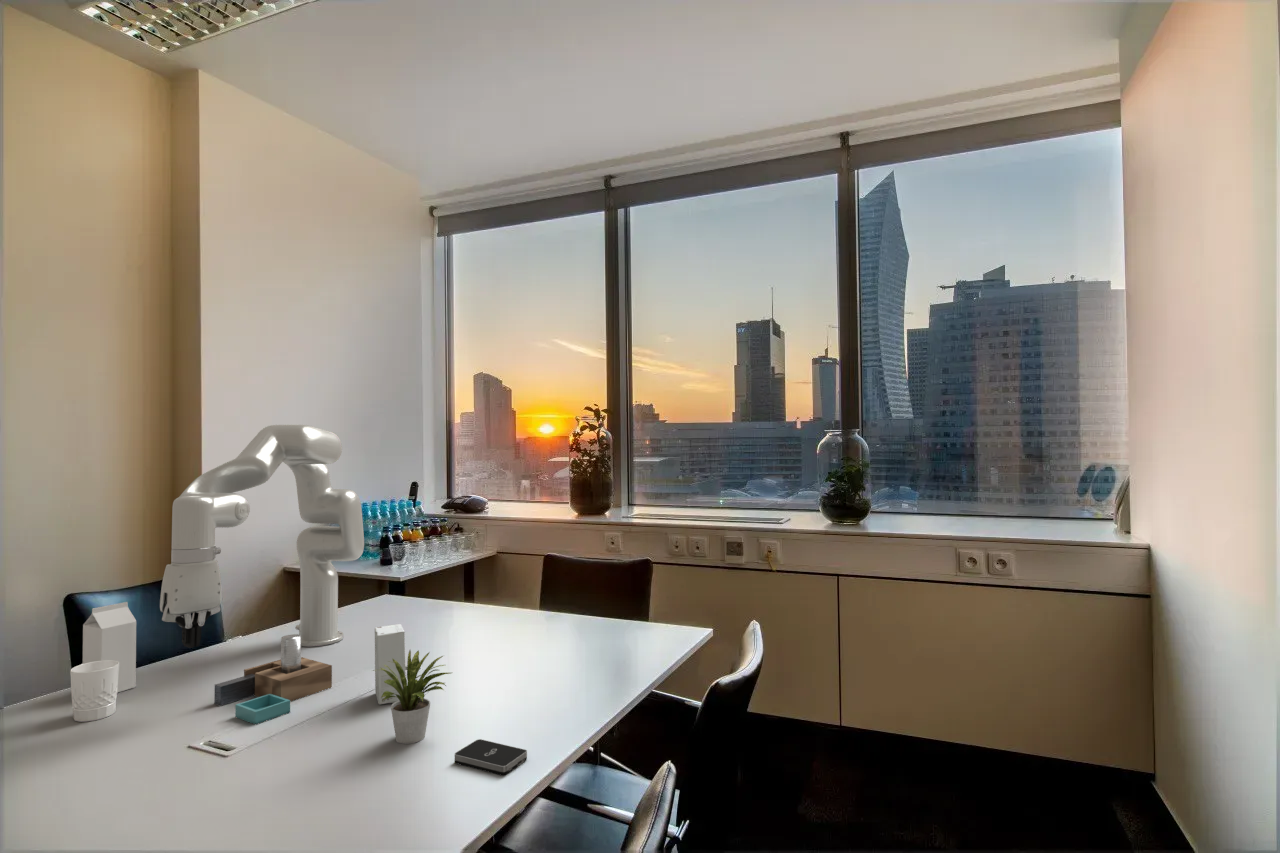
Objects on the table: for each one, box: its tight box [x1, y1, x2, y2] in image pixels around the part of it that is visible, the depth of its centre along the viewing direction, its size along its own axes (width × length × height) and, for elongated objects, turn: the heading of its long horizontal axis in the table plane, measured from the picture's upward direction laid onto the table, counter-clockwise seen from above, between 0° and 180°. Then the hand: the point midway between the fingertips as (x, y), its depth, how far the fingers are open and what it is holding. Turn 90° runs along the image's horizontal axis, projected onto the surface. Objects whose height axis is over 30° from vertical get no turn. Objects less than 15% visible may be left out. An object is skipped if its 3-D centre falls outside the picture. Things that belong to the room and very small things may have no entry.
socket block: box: [243, 656, 333, 702], centre depth 157 cm, size 14×12×5 cm
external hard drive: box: [454, 738, 528, 777], centre depth 122 cm, size 7×11×2 cm, turn 64°
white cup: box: [70, 660, 119, 723], centre depth 143 cm, size 8×8×10 cm
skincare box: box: [374, 623, 407, 705], centre depth 153 cm, size 8×6×15 cm
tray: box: [234, 694, 291, 725], centre depth 143 cm, size 7×7×2 cm
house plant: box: [372, 649, 452, 745], centre depth 131 cm, size 14×14×16 cm
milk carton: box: [82, 601, 137, 693], centre depth 157 cm, size 7×7×19 cm
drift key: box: [213, 674, 255, 707], centre depth 151 cm, size 2×8×4 cm, turn 149°
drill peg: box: [280, 633, 302, 674], centre depth 156 cm, size 4×4×12 cm
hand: (191, 646), depth 144 cm, fingers closed
